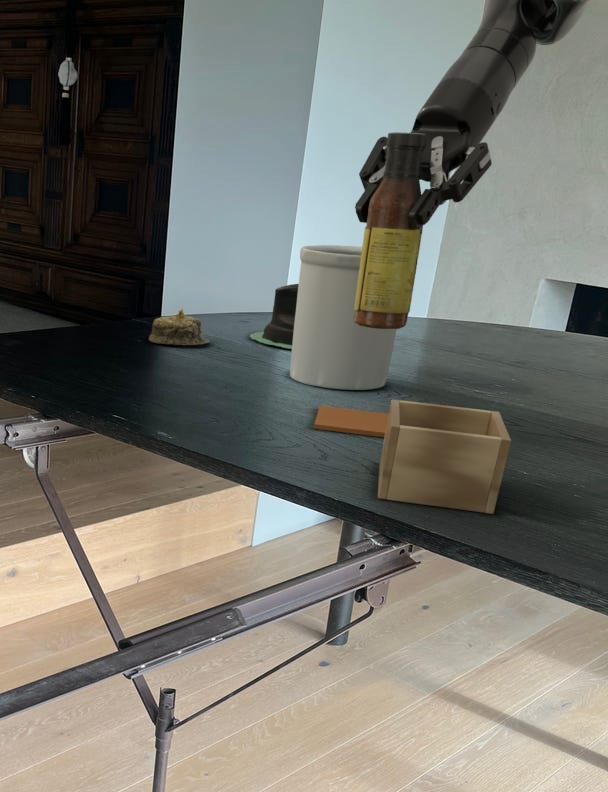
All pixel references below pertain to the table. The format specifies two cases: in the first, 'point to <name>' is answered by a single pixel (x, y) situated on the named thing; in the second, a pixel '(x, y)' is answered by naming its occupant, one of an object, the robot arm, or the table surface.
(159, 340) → the cake
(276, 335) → the chocolate cake
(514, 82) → the robot arm
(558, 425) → the table surface
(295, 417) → the table surface
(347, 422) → the cork mat
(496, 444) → the box
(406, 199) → the sauce bottle
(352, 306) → the utensil holder
